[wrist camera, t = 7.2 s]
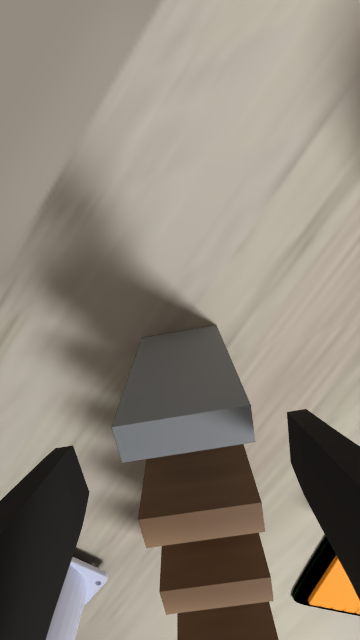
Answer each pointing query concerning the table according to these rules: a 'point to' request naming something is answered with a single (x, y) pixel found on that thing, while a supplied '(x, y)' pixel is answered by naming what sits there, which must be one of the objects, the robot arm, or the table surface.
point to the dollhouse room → (326, 583)
